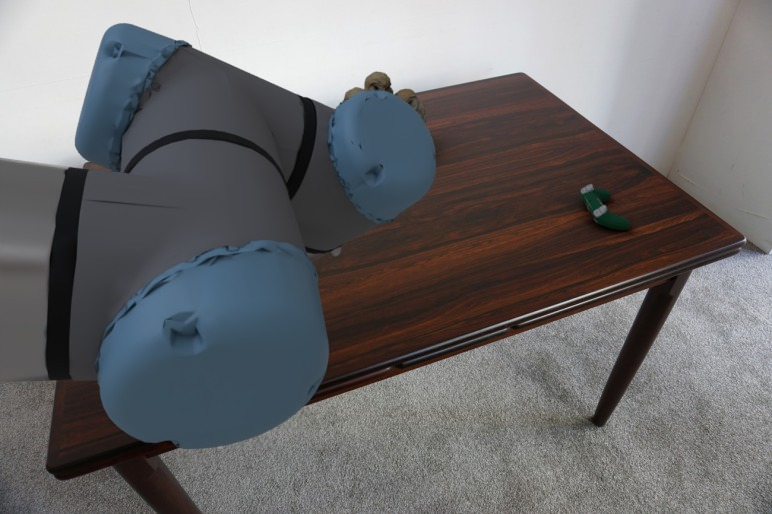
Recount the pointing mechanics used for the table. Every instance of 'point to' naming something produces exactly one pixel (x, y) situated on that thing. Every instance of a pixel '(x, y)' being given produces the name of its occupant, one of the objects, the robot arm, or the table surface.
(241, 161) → the robot arm
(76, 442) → the table surface
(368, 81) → the owl figurine
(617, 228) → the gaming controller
